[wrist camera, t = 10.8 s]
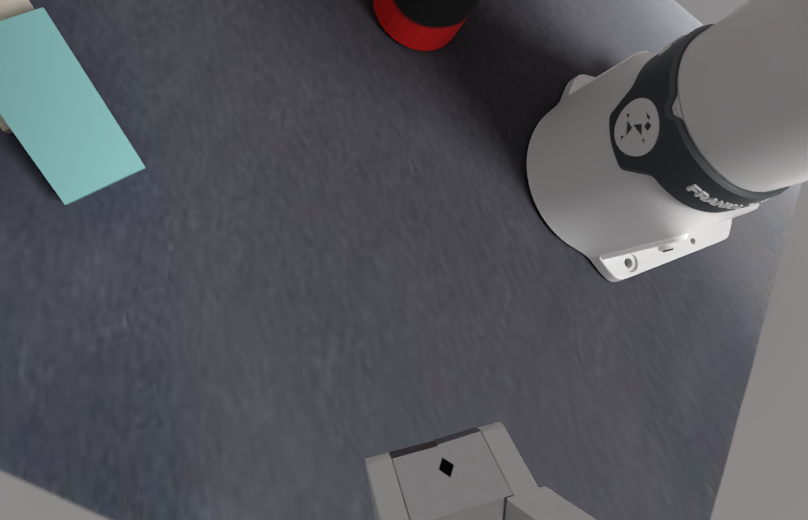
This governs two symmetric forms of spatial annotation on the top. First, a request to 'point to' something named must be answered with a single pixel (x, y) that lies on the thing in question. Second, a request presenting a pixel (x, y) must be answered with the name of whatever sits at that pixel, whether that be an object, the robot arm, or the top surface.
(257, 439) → the top surface
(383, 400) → the top surface
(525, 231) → the top surface
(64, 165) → the domino
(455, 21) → the soda can
